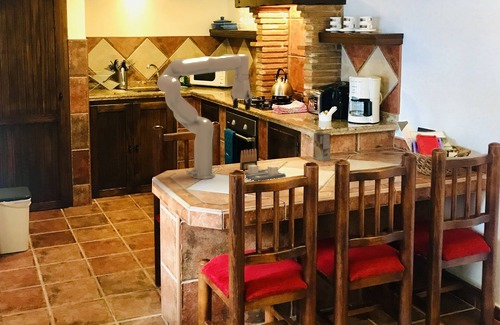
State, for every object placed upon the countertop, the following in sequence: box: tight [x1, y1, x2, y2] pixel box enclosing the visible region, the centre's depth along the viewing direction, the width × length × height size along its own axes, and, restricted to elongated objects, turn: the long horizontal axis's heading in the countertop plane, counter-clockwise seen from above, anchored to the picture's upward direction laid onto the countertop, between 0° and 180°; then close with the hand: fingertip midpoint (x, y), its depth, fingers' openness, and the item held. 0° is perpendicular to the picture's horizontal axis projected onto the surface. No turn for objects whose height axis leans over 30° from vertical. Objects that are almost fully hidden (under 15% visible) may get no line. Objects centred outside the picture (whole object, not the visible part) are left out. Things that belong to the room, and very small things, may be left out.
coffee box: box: [312, 131, 332, 162], centre depth 395 cm, size 9×6×16 cm
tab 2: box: [267, 164, 279, 175], centre depth 352 cm, size 4×4×4 cm
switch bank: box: [244, 168, 287, 182], centre depth 353 cm, size 20×14×2 cm
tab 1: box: [247, 164, 259, 175], centre depth 353 cm, size 4×4×4 cm
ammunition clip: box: [239, 147, 258, 172], centre depth 367 cm, size 11×2×12 cm, turn 123°
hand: (241, 109), depth 357 cm, fingers open, 9 cm apart
